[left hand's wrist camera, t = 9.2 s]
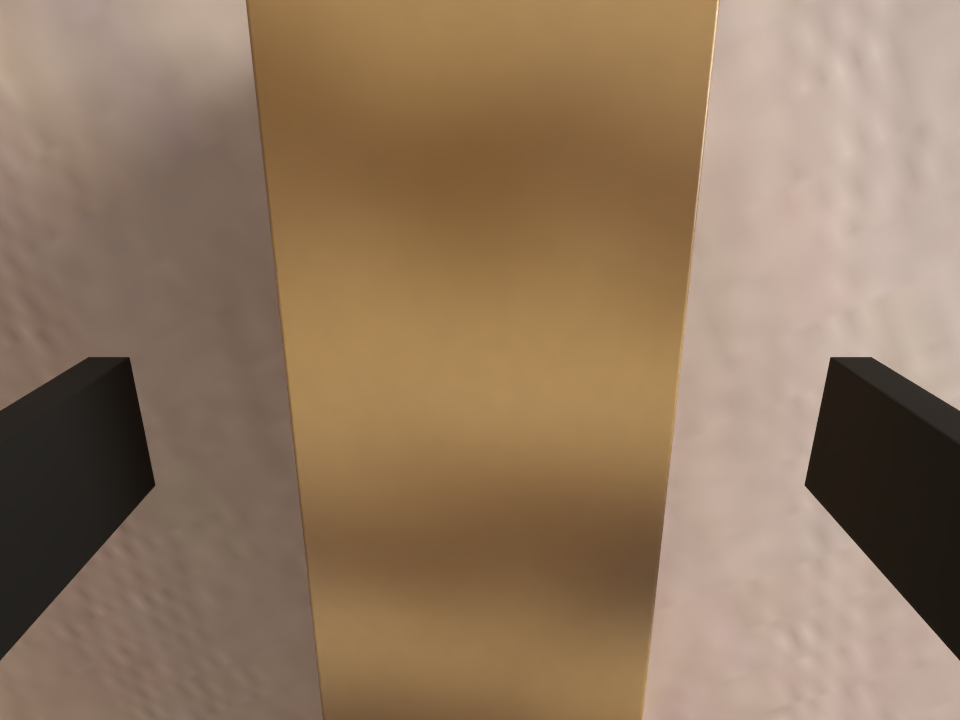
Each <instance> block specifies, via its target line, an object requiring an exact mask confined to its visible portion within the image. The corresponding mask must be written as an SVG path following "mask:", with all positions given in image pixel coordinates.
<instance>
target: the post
mask: <svg viewBox="0 0 960 720" xmlns="http://www.w3.org/2000/svg"><path fill="white" fill-rule="evenodd" d="M719 3H720V0H246V6H247V16H248V25H249V34H250V44H251V53H252V62H253V72H254V81H255V90H256V99H257V109H258V118H259V127H260V137H261V146H262V155H263V164H264V174H265V183H266V192H267V202H268V211H269V220H270V229H271V239H272V248H273V257H274V267H275V276H276V285H277V295H278V304H279V313H280V322H281V332H282V341H283V350H284V360H285V369H286V378H287V387H288V397H289V406H290V415H291V425H292V434H293V443H294V453H295V462H296V471H297V480H298V490H299V499H300V508H301V518H302V527H303V536H304V545H305V555H306V564H307V573H308V583H309V592H310V601H311V611H312V620H313V629H314V638H315V648H316V657H317V666H318V676H319V685H320V694H321V703H322V713H323V720H642V717H643V708H644V699H645V689H646V680H647V671H648V661H649V652H650V643H651V634H652V624H653V615H654V606H655V597H656V587H657V578H658V569H659V559H660V550H661V541H662V532H663V522H664V513H665V504H666V495H667V485H668V476H669V467H670V457H671V448H672V439H673V430H674V420H675V411H676V402H677V393H678V383H679V374H680V365H681V355H682V346H683V337H684V328H685V318H686V309H687V300H688V291H689V281H690V272H691V263H692V253H693V244H694V235H695V226H696V216H697V207H698V198H699V189H700V179H701V170H702V161H703V151H704V142H705V133H706V124H707V114H708V105H709V96H710V87H711V77H712V68H713V59H714V49H715V40H716V31H717V22H718V12H719Z"/></svg>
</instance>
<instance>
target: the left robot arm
mask: <svg viewBox="0 0 960 720" xmlns="http://www.w3.org/2000/svg"><path fill="white" fill-rule="evenodd" d="M154 486H155V481H154V476H153V471H152V466H151V461H150V456H149V451H148V446H147V441H146V437H145V432H144V427H143V422H142V417H141V412H140V407H139V402H138V397H137V392H136V387H135V382H134V377H133V372H132V367H131V363H130V358H129V357H88V358H86V359H85V360H83V361H82V362H80V363H78V364H77V365H75V366H73V367H72V368H70V369H68V370H67V371H65V372H63V373H62V374H60V375H59V376H57V377H55V378H54V379H52V380H50V381H49V382H47V383H45V384H44V385H42V386H40V387H39V388H37V389H36V390H34V391H32V392H31V393H29V394H27V395H26V396H24V397H22V398H21V399H19V400H17V401H16V402H14V403H13V404H11V405H9V406H8V407H6V408H4V409H3V410H1V411H0V660H1V659H2V658H3V657H4V656H5V654H6V653H7V652H8V651H9V650H10V649H11V648H12V647H13V645H14V644H15V643H16V642H17V641H18V640H19V639H20V638H21V636H22V635H23V634H24V633H25V632H26V631H27V630H28V629H29V627H30V626H31V625H32V624H33V623H34V622H35V621H36V619H37V618H38V617H39V616H40V615H41V614H42V613H43V612H44V610H45V609H46V608H47V607H48V606H49V605H50V604H51V603H52V601H53V600H54V599H55V598H56V597H57V596H58V595H59V594H60V592H61V591H62V590H63V589H64V588H65V587H66V586H67V584H68V583H69V582H70V581H71V580H72V579H73V578H74V577H75V575H76V574H77V573H78V572H79V571H80V570H81V569H82V568H83V566H84V565H85V564H86V563H87V562H88V561H89V560H90V559H91V557H92V556H93V555H94V554H95V553H96V552H97V551H98V550H99V548H100V547H101V546H102V545H103V544H104V543H105V542H106V540H107V539H108V538H109V537H110V536H111V535H112V534H113V533H114V531H115V530H116V529H117V528H118V527H119V526H120V525H121V524H122V522H123V521H124V520H125V519H126V518H127V517H128V516H129V515H130V513H131V512H132V511H133V510H134V509H135V508H136V507H137V505H138V504H139V503H140V502H141V501H142V500H143V499H144V498H145V496H146V495H147V494H148V493H149V492H150V491H151V490H152V489H153V487H154ZM805 486H806V487H807V489H808V490H809V491H810V492H811V493H812V494H813V495H814V496H815V498H816V499H817V500H818V501H819V502H820V503H821V504H822V505H823V507H824V508H825V509H826V510H827V511H828V512H829V513H830V515H831V516H832V517H833V518H834V519H835V520H836V521H837V522H838V524H839V525H840V526H841V527H842V528H843V529H844V530H845V531H846V533H847V534H848V535H849V536H850V537H851V538H852V539H853V540H854V542H855V543H856V544H857V545H858V546H859V547H860V548H861V550H862V551H863V552H864V553H865V554H866V555H867V556H868V557H869V559H870V560H871V561H872V562H873V563H874V564H875V565H876V566H877V568H878V569H879V570H880V571H881V572H882V573H883V574H884V575H885V577H886V578H887V579H888V580H889V581H890V582H891V583H892V584H893V586H894V587H895V588H896V589H897V590H898V591H899V592H900V594H901V595H902V596H903V597H904V598H905V599H906V600H907V601H908V603H909V604H910V605H911V606H912V607H913V608H914V609H915V610H916V612H917V613H918V614H919V615H920V616H921V617H922V618H923V619H924V621H925V622H926V623H927V624H928V625H929V626H930V627H931V629H932V630H933V631H934V632H935V633H936V634H937V635H938V636H939V638H940V639H941V640H942V641H943V642H944V643H945V644H946V645H947V647H948V648H949V649H950V650H951V651H952V652H953V653H954V654H955V656H956V657H957V658H958V659H959V660H960V411H959V410H957V409H956V408H954V407H952V406H951V405H949V404H947V403H946V402H944V401H943V400H941V399H939V398H938V397H936V396H934V395H933V394H931V393H929V392H928V391H926V390H924V389H923V388H921V387H920V386H918V385H916V384H915V383H913V382H911V381H910V380H908V379H906V378H905V377H903V376H901V375H900V374H898V373H897V372H895V371H893V370H892V369H890V368H888V367H887V366H885V365H883V364H882V363H880V362H878V361H877V360H875V359H874V358H872V357H831V358H830V363H829V367H828V372H827V377H826V382H825V387H824V392H823V397H822V402H821V407H820V412H819V417H818V422H817V427H816V432H815V437H814V441H813V446H812V451H811V456H810V461H809V466H808V471H807V476H806V481H805Z"/></svg>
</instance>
